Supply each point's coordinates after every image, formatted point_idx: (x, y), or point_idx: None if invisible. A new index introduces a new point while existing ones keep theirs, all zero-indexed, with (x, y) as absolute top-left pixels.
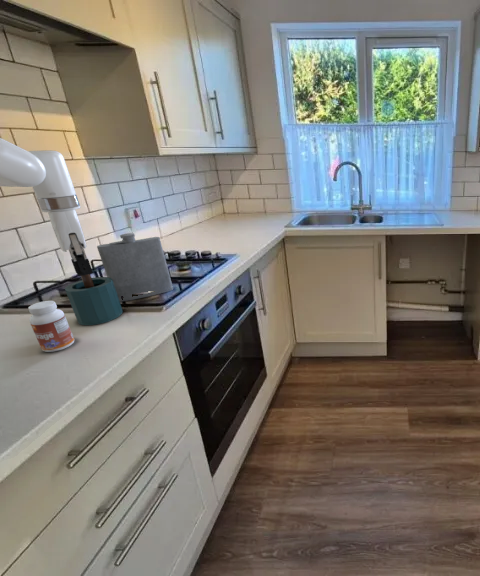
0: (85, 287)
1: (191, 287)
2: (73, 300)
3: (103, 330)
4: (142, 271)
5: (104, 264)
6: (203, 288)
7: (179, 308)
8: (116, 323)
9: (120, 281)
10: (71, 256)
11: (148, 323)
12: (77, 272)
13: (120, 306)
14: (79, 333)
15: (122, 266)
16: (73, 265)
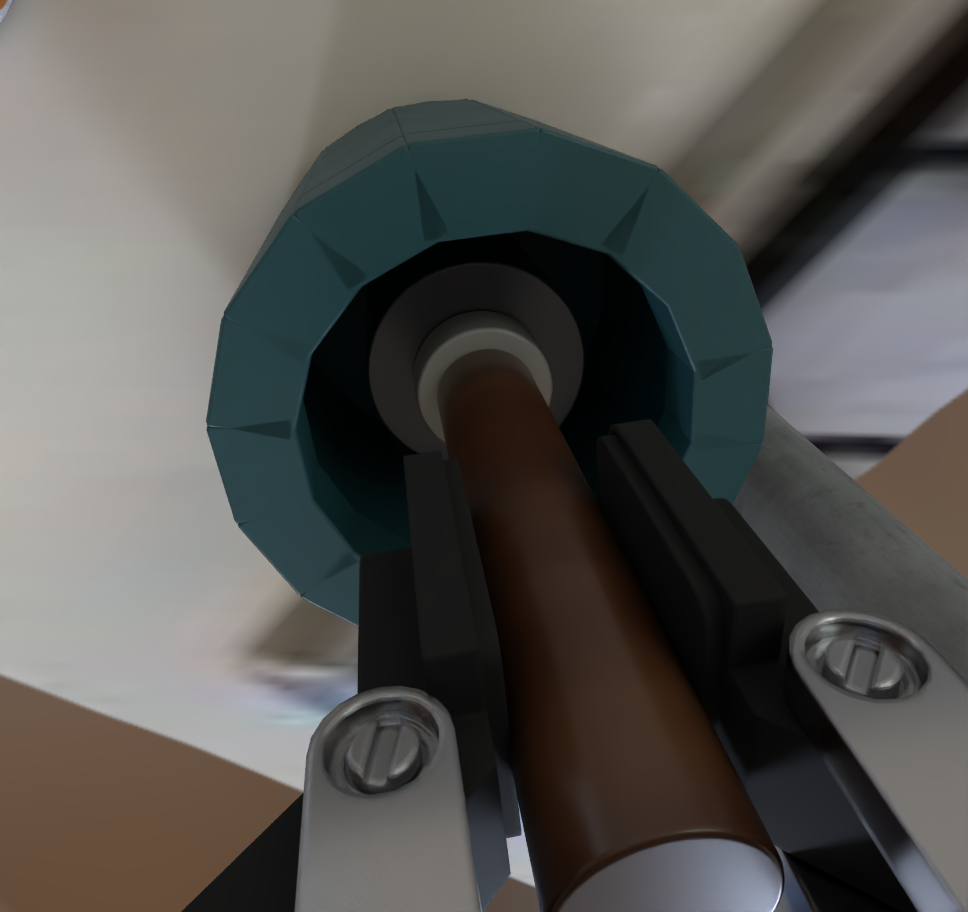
0: (468, 376)
1: None
2: (313, 181)
3: (91, 296)
4: None
5: (960, 662)
6: (513, 855)
7: (234, 741)
8: (199, 390)
9: None
10: (807, 682)
11: (53, 580)
12: (410, 495)
13: None
14: (137, 104)
15: None
16: (667, 509)
